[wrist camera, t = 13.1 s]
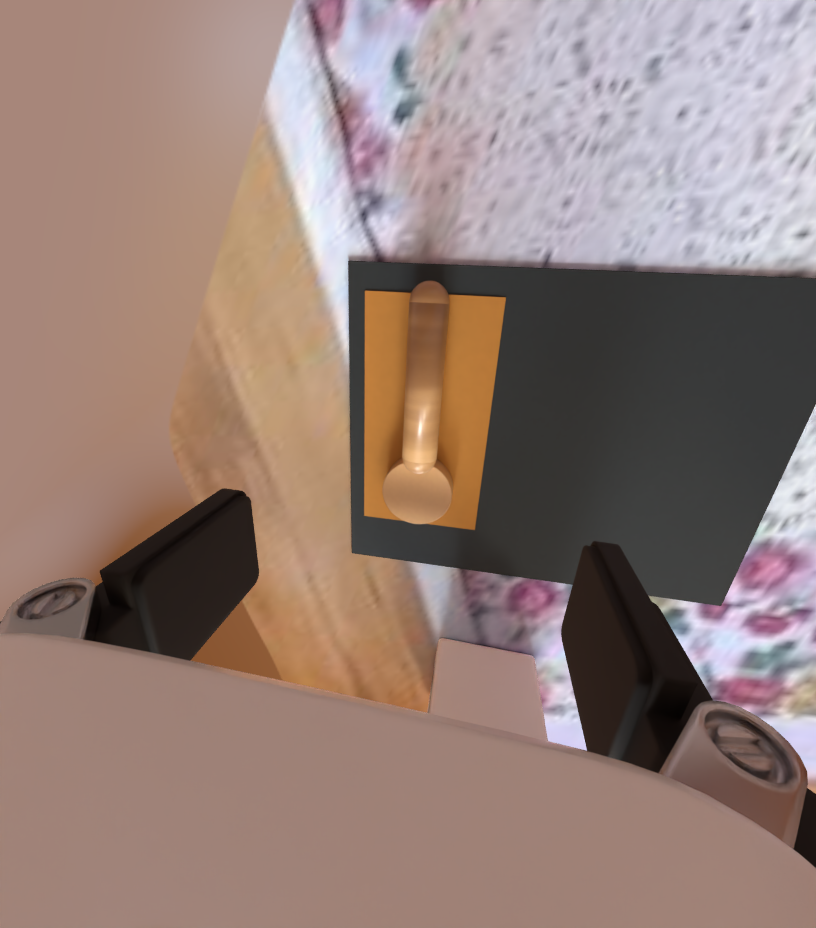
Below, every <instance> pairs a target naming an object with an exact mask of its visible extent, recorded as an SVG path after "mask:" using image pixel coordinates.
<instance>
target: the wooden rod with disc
mask: <svg viewBox="0 0 816 928" xmlns="http://www.w3.org/2000/svg"><path fill="white" fill-rule="evenodd" d="M448 316H449V295H448V293H447V291H446V289H445V288H444V287H443V286H442V285H441V284H440V283H438V282H436V281H424V282H421V283H419V284H418V285H417V286H416V287H415V288H414V289H413V291H412V292H411V295H410V298H409V313H408V336H407V358H406V381H405V403H404V426H403V448H402V458H400V459H399V460H397V461H396V462H395V463H394V464H393V465H392V467H391V468H390V470H389V472H388V474H387V475H386V477H385V480H384V482H383V488H382V491H383V498H384V501H385V503H386V505H387V507H388V508H389V510H390V511H391V512H392V513H393V514H394V515H395V516H397V517H398V518H400V519H401V520H403V521H406V522H409V523H413V524H426V523H430V522H433V521H435V520H437V519H439V518H440V517H442V516H443V515H444V514H445V513H446V511H447V510H448V508H449V506H450V504H451V500H452V494H453V480H452V477H451V474H450V472H449V470H448V469H447V468H446V466H445V465H444V464H443V463H442V462H440V461H439V460H437V450H438V437H439V425H440V413H441V401H442V389H443V377H444V365H445V353H446V340H447V328H448Z"/></svg>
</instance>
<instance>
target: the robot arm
mask: <svg viewBox="0 0 816 928" xmlns="http://www.w3.org/2000/svg"><path fill="white" fill-rule="evenodd" d="M100 574H101V577H102V580H103V582H102V583H100V584H99V585H97V586H96V587H95V584H94V583H93V582H92V581H91V580H88V579H85V578H68V579H62V580H58V581H54V582H51V583H47V584H45V585H42V586H40V587H38V588H35V589H33V590H31V591H30V592H28V593H26V594H24V595H23V596H21V597H20V598H19V599H17V600H16V601H15V602H14V603H13V604H12V605H11V606H10V607H9V609H8V610H7V612H6V614H5V616H4V617H3V619H2V621H1V622H0V928H816V794H815V793H813V792H812V791H811V790H809V789H808V788H807V785H808V779H807V770H806V768H805V766H804V764H803V762H802V760H801V758H800V756H799V755H798V754H797V752H796V751H795V750H794V748H793V747H792V746H791V745H790V743H789V742H788V741H787V740H786V739H785V738H784V737H783V736H782V735H781V734H779V733H778V732H777V731H776V730H775V729H774V728H773V727H772V726H770V725H769V724H767V723H766V722H765V721H763V720H762V719H760V718H759V717H758V716H756V715H754V714H752V713H750V712H748V711H746V710H745V709H743V708H741V707H738V706H735V705H732V704H729V703H727V702H721V701H713V699H712V698H711V696H710V694H709V693H708V691H707V689H706V687H705V686H704V684H703V682H702V680H701V679H700V677H699V675H698V674H697V672H696V670H695V668H694V667H693V665H692V663H691V662H690V660H689V658H688V656H687V655H686V653H685V651H684V650H683V648H682V646H681V644H680V643H679V641H678V639H677V638H676V636H675V634H674V632H673V631H672V629H671V627H670V625H669V624H668V622H667V620H666V619H665V617H664V615H663V613H662V612H661V610H660V609H659V607H658V606H657V605H656V604H655V603H653V602H651V600H650V598H649V597H648V595H647V593H646V591H645V589H644V588H643V586H642V584H641V582H640V581H639V579H638V577H637V575H636V574H635V572H634V570H633V568H632V567H631V565H630V563H629V561H628V559H627V558H626V556H625V554H624V552H623V551H622V549H621V547H620V546H619V545H618V544H613V543H606V542H598V541H593V542H592V544H591V546H587V545H585V546H584V547H583V549H582V553H581V556H580V560H579V564H578V568H577V571H576V575H575V579H574V583H573V586H572V590H571V594H570V597H569V601H568V605H567V609H566V612H565V616H564V620H563V624H562V630H561V635H562V642H563V647H564V651H565V655H566V660H567V664H568V668H569V673H570V677H571V682H572V686H573V690H574V695H575V699H576V703H577V708H578V712H579V716H580V721H581V725H582V730H583V734H584V738H585V743H586V747H587V751H585V750H581V749H577V748H573V747H569V746H565V745H561V744H557V743H553V742H549V741H545V740H541V739H537V738H532V737H528V736H524V735H520V734H516V733H512V732H508V731H504V730H500V729H495V728H491V727H486V726H482V725H478V724H473V723H469V722H464V721H460V720H456V719H451V718H447V717H442V716H438V715H434V714H429V713H425V712H420V711H416V710H412V709H407V708H403V707H398V706H394V705H390V704H385V703H381V702H376V701H372V700H367V699H363V698H358V697H354V696H349V695H345V694H340V693H336V692H331V691H327V690H322V689H318V688H313V687H309V686H304V685H299V684H295V683H290V682H286V681H281V680H277V679H272V678H268V677H263V676H258V675H254V674H249V673H245V672H240V671H235V670H230V669H226V668H221V667H217V666H212V665H207V664H203V663H198V662H193V661H190V660H191V659H192V658H193V657H194V655H195V654H196V653H197V652H198V651H199V650H200V648H201V647H202V646H203V645H204V644H205V642H206V641H207V640H208V639H209V638H210V637H211V635H212V634H213V633H214V632H215V631H216V630H217V628H218V627H219V626H220V625H221V624H222V622H223V621H224V620H225V619H226V618H227V617H228V615H229V614H230V613H231V612H232V611H233V610H234V608H235V607H236V606H237V604H239V602H240V601H241V600H242V599H243V598H244V597H245V595H246V594H247V593H248V592H249V591H250V589H251V588H252V587H253V586H254V585H255V583H256V581H257V579H258V576H259V567H258V559H257V550H256V542H255V533H254V524H253V516H252V507H251V500H250V498H249V497H247V496H246V494H245V493H244V492H243V491H239V490H232V489H221V490H219V491H218V492H216V493H215V494H213V495H212V496H210V497H209V498H207V499H206V500H204V501H203V502H201V503H200V504H198V505H197V506H195V507H194V508H192V509H191V510H190V511H188V512H187V513H185V514H184V515H182V516H181V517H179V518H178V519H176V520H175V521H173V522H172V523H170V524H169V525H167V526H166V527H164V528H163V529H161V530H160V531H159V532H157V533H155V534H154V535H152V536H151V537H149V538H148V539H147V540H145V541H143V542H142V543H140V544H139V545H137V546H136V547H135V548H133V549H132V550H130V551H129V552H127V553H126V554H124V555H123V556H121V557H120V558H118V559H117V560H115V561H114V562H112V563H111V564H109V565H108V566H106V567H105V568H103V569H102V570H100Z"/></svg>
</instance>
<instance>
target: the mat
mask: <svg viewBox="0 0 816 928" xmlns="http://www.w3.org/2000/svg"><path fill="white" fill-rule="evenodd" d="M348 270H349V354H350V438H351V523H352V553H355V554H362V555H369V556H376V557H383V558H390V559H397V560H404V561H411V562H418V563H425V564H432V565H439V566H446V567H453V568H460V569H467V570H474V571H481V572H488V573H495V574H502V575H509V576H516V577H523V578H530V579H537V580H544V581H551V582H558V583H565V584H572V585H573V583H574V579H575V575H576V571H577V568H578V564H579V560H580V556H581V553H582V549H583V547H584V546H585V545H587V546H591V544H592V542H593V541H598V542H606V543H613V544H618V545H619V546H620V547H621V549H622V551H623V552H624V554H625V556H626V558H627V559H628V561H629V563H630V565H631V567H632V568H633V570H634V572H635V574H636V575H637V577H638V579H639V581H640V582H641V584H642V586H643V588H644V589H645V591H646V593H647V595H649V596H656V597H662V598H669V599H676V600H683V601H690V602H697V603H704V604H711V605H718V606H721V605H722V603H723V601H724V599H725V596H726V594H727V592H728V590H729V588H730V586H731V584H732V582H733V579H734V577H735V575H736V573H737V571H738V569H739V567H740V564H741V562H742V560H743V558H744V556H745V554H746V552H747V550H748V547H749V545H750V543H751V541H752V539H753V537H754V535H755V532H756V530H757V528H758V526H759V524H760V522H761V520H762V518H763V515H764V513H765V511H766V509H767V507H768V505H769V503H770V501H771V498H772V496H773V494H774V492H775V490H776V488H777V486H778V483H779V481H780V479H781V477H782V475H783V473H784V471H785V469H786V466H787V464H788V462H789V460H790V458H791V456H792V454H793V451H794V449H795V447H796V445H797V443H798V441H799V439H800V437H801V434H802V432H803V430H804V428H805V426H806V424H807V422H808V420H809V417H810V415H811V413H812V411H813V409H814V407H815V405H816V278H793V277H766V276H739V275H713V274H686V273H659V272H632V271H606V270H579V269H552V268H525V267H498V266H472V265H445V264H418V263H391V262H365V261H348ZM424 281H436V282H438V283H440V284H441V285H442V286H443V287H444V288H445V289H446V291H447V293H448V295H449V316H448V328H447V340H446V353H445V365H444V377H443V389H442V401H441V413H440V425H439V437H438V450H437V460H439V461H440V462H442V463H443V464H444V465H445V466H446V468H447V469H448V470H449V472H450V474H451V477H452V480H453V494H452V500H451V504H450V506H449V508H448V510H447V511H446V513H445V514H444V515H443V516H442V517H440V518H439V519H437V520H435V521H433V522H430V523H426V524H413V523H409V522H406V521H403V520H401V519H400V518H398V517H397V516H395V515H394V514H393V513H392V512H391V511H390V510H389V508H388V507H387V505H386V503H385V501H384V498H383V491H382V488H383V482H384V480H385V477H386V475H387V474H388V472H389V470H390V468H391V467H392V465H393V464H394V463H395V462H396V461H397V460H399V459H400V458H402V448H403V426H404V403H405V381H406V358H407V336H408V313H409V298H410V295H411V292H412V291H413V289H414V288H415V287H416V286H417V285H418V284H419V283H421V282H424Z"/></svg>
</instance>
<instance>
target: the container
mask: <svg viewBox="0 0 816 928" xmlns="http://www.w3.org/2000/svg"><path fill="white" fill-rule="evenodd" d="M428 713H429V714H434V715H438V716H442V717H447V718H451V719H456V720H460V721H464V722H469V723H473V724H478V725H482V726H486V727H491V728H495V729H500V730H504V731H508V732H512V733H516V734H520V735H524V736H528V737H532V738H537V739H541V740H545V741H548V739H547V733H546V727H545V720H544V714H543V708H542V702H541V696H540V689H539V683H538V677H537V671H536V664H535V659H534V657H533V656H531V655H527V654H522V653H517V652H512V651H506V650H501V649H496V648H491V647H486V646H481V645H476V644H471V643H465V642H460V641H455V640H450V639H445V638H441V639H439V641H438V645H437V651H436V658H435V664H434V671H433V677H432V684H431V690H430V697H429V704H428Z"/></svg>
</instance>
